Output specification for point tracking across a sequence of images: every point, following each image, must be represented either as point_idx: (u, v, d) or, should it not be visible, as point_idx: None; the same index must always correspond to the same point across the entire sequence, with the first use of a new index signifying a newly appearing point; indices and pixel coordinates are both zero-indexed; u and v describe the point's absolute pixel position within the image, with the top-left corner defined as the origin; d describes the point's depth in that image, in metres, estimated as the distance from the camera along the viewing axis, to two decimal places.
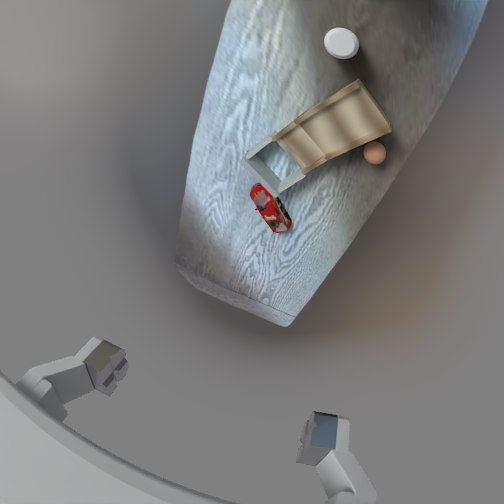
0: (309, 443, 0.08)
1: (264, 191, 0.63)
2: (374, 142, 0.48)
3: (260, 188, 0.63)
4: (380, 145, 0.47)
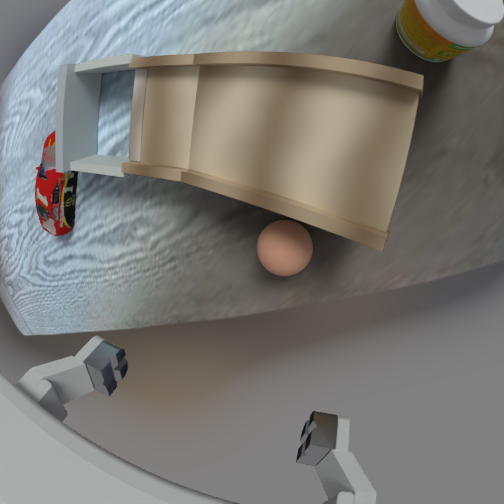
0: (309, 443, 0.08)
1: None
2: (303, 230, 0.22)
3: None
4: (309, 246, 0.22)
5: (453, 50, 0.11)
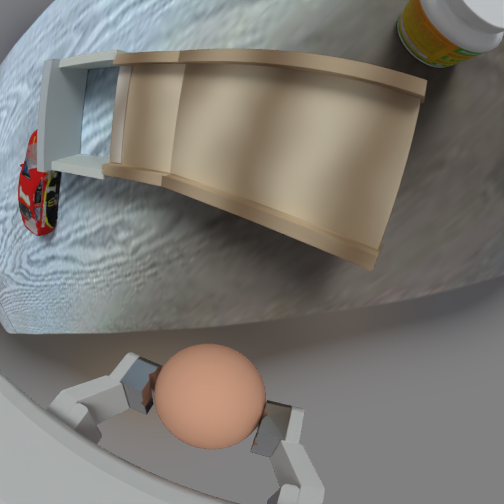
0: (258, 432, 0.09)
1: None
2: (243, 381, 0.09)
3: None
4: (255, 411, 0.09)
5: (458, 55, 0.10)
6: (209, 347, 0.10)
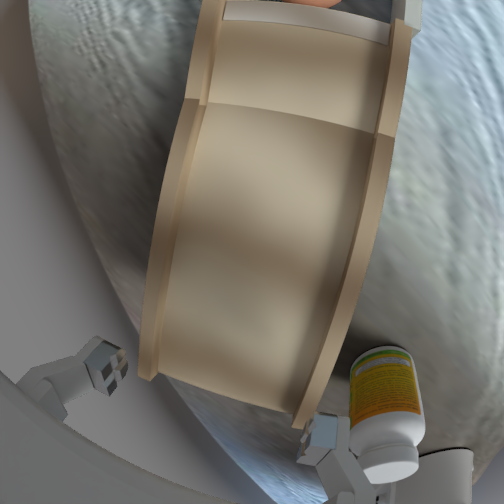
0: (309, 443, 0.08)
1: None
2: None
3: None
4: None
5: (349, 415, 0.17)
6: None
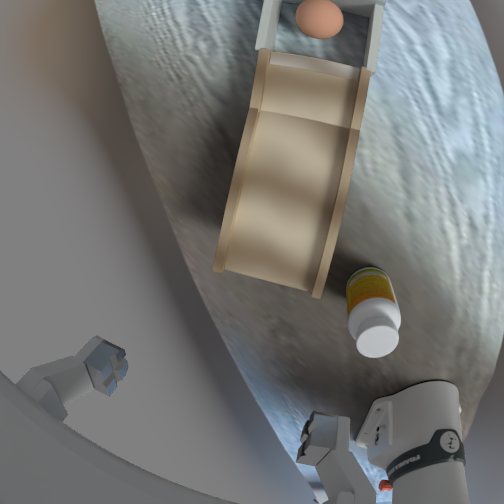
0: (309, 443, 0.08)
1: None
2: (330, 33, 0.20)
3: None
4: (338, 31, 0.20)
5: (347, 310, 0.28)
6: (312, 25, 0.19)
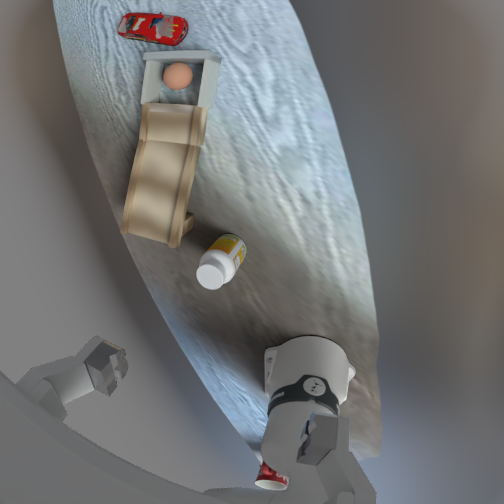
0: (309, 443, 0.08)
1: (169, 38, 0.34)
2: (181, 86, 0.36)
3: (175, 36, 0.33)
4: (189, 82, 0.37)
5: None
6: (169, 85, 0.36)
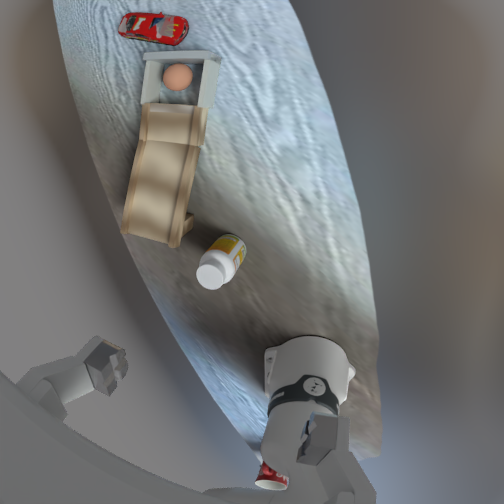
0: (309, 443, 0.08)
1: (169, 37, 0.34)
2: (182, 88, 0.36)
3: (175, 35, 0.33)
4: (189, 83, 0.37)
5: None
6: (169, 86, 0.36)
